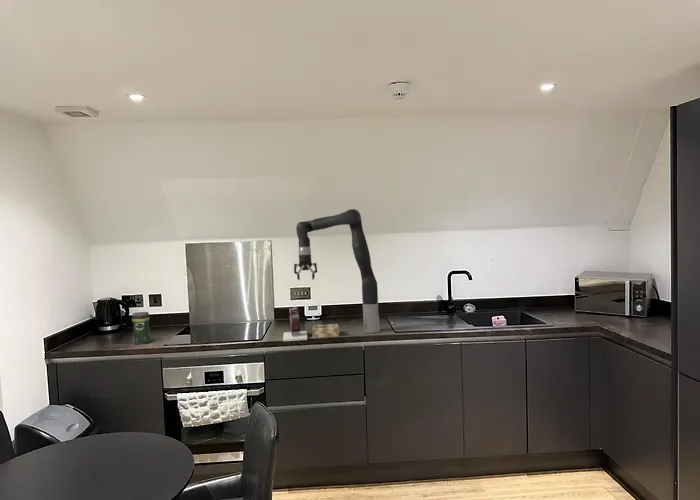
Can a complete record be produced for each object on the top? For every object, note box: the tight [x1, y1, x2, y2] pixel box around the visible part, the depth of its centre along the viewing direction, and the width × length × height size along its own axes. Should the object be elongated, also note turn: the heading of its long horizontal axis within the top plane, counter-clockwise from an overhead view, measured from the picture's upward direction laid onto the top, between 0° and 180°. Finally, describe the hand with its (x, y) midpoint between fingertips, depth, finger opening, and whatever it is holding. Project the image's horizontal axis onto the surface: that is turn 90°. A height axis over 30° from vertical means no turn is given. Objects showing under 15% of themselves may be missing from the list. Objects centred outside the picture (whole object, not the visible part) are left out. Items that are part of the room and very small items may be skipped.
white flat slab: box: [282, 330, 308, 342], centre depth 315 cm, size 14×20×1 cm
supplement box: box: [289, 307, 301, 337], centre depth 314 cm, size 9×5×16 cm, turn 14°
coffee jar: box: [131, 311, 152, 345], centre depth 315 cm, size 10×8×19 cm
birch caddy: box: [311, 323, 340, 339], centre depth 316 cm, size 16×12×5 cm
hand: (306, 280), depth 328 cm, fingers open, 8 cm apart
